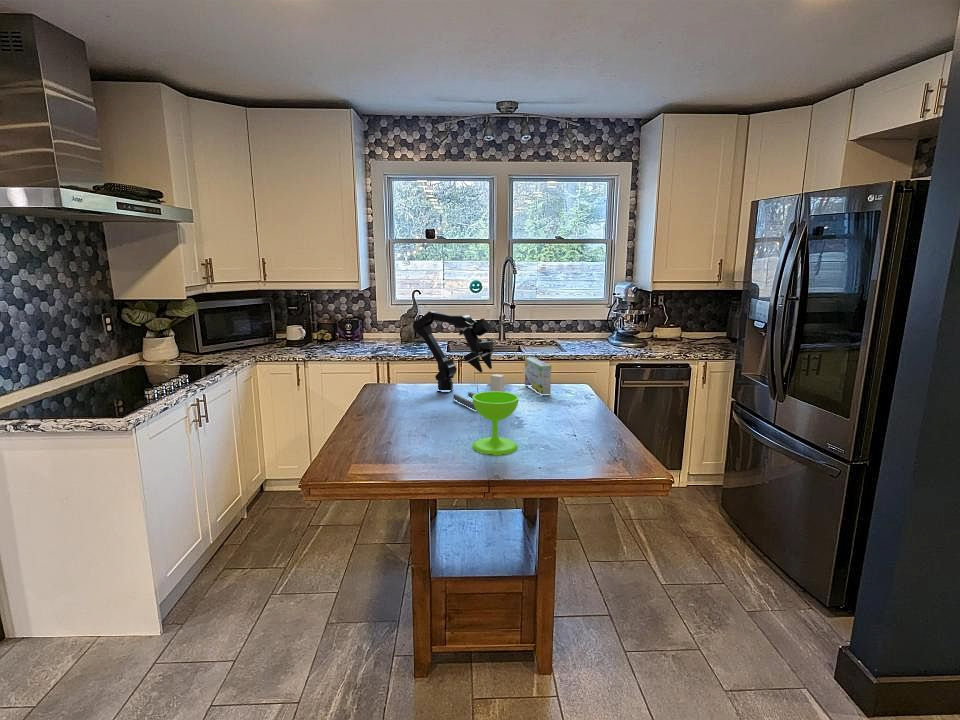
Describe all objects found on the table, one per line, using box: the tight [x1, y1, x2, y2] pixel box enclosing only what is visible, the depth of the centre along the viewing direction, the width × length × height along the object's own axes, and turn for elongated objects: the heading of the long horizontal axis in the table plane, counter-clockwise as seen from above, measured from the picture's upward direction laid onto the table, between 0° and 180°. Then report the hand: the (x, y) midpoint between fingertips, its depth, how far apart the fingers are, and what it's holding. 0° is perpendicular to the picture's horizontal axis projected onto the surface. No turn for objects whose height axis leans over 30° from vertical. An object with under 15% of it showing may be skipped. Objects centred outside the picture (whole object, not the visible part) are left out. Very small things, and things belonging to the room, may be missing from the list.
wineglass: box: [471, 390, 520, 456], centre depth 181 cm, size 16×16×18 cm
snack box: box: [524, 356, 552, 395], centre depth 259 cm, size 21×6×15 cm, turn 17°
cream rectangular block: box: [490, 373, 505, 392], centre depth 241 cm, size 5×4×12 cm
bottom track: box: [453, 391, 476, 410], centre depth 235 cm, size 20×9×3 cm, turn 30°
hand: (486, 370), depth 245 cm, fingers open, 9 cm apart
